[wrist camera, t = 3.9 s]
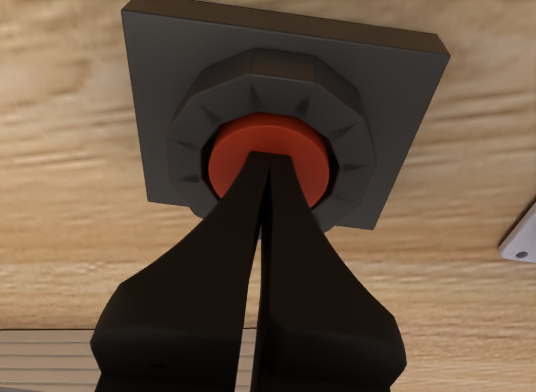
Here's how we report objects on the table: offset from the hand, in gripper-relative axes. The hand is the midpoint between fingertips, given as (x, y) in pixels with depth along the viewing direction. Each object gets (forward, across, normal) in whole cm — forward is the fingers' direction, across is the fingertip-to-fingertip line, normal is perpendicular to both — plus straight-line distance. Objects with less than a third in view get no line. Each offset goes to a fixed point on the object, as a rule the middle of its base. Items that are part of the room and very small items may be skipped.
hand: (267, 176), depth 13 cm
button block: (+4, 0, 0) cm, 4 cm away
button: (+2, 0, 0) cm, 2 cm away
